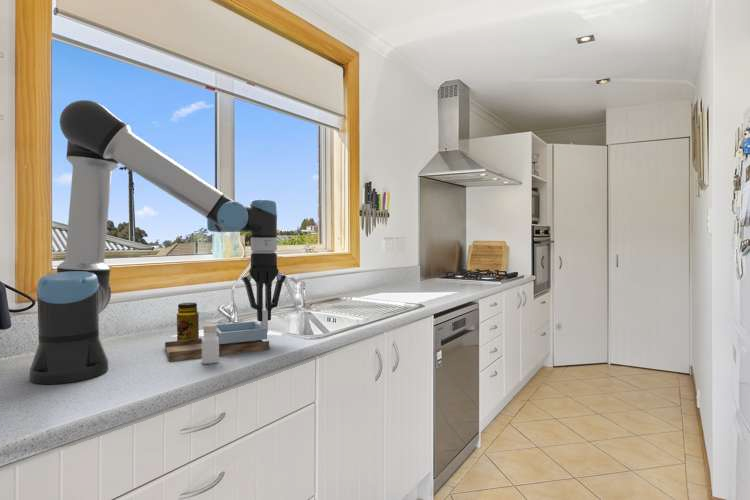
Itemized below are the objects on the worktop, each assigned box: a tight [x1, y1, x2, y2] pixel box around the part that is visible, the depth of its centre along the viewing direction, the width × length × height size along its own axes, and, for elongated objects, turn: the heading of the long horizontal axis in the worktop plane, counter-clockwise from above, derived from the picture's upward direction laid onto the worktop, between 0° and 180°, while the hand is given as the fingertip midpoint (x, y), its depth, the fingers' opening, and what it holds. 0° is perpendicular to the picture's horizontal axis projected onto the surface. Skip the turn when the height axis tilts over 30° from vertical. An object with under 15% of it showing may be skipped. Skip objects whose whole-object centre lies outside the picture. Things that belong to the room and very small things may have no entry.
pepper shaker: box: [201, 323, 220, 365], centre depth 116 cm, size 4×4×10 cm
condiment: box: [176, 302, 202, 341], centre depth 138 cm, size 7×8×12 cm
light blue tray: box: [216, 320, 268, 346], centre depth 132 cm, size 13×13×5 cm
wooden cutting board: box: [164, 337, 270, 362], centre depth 129 cm, size 26×14×2 cm, turn 119°
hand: (264, 331), depth 136 cm, fingers closed
